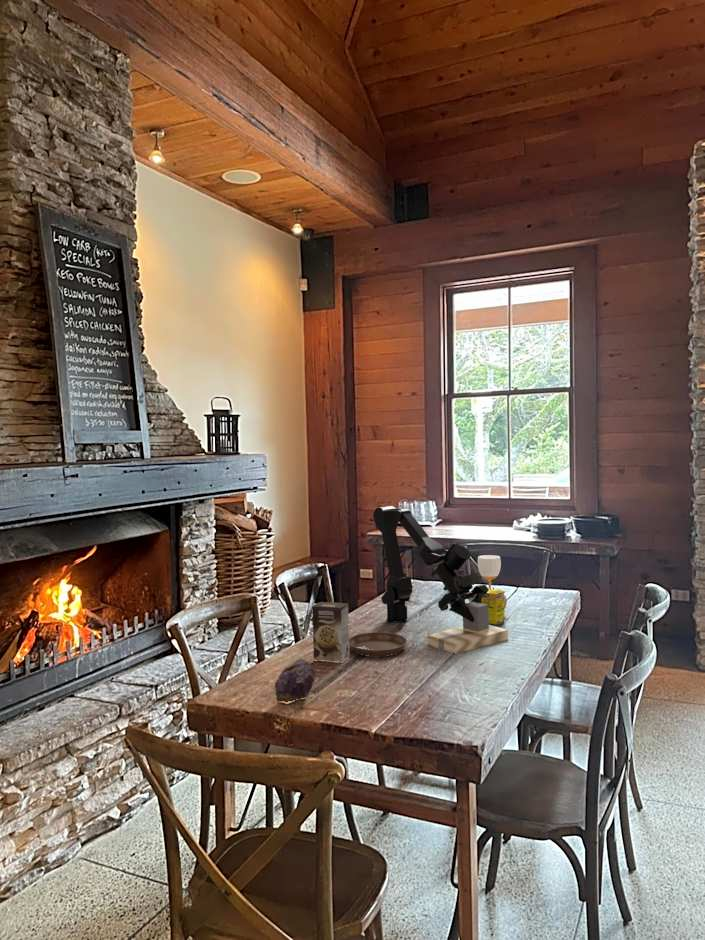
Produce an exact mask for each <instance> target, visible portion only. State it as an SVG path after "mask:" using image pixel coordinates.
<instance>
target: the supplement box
mask: <svg viewBox="0 0 705 940" xmlns="http://www.w3.org/2000/svg"><path fill="white" fill-rule="evenodd" d="M488 589H489V588H488ZM501 590H502V589H499V590H496V589H494V590H493V588H491V589H489V591H488V592H487V593H486V594H485V595H484V596H483V597H482V603H483V604H488V617H489V625H492V626H495V627H499V626H500V625H502V624H505V609H504V595H505V593H504V592H505V591H504V590H502V591H501Z"/></svg>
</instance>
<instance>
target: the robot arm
mask: <svg viewBox="0 0 705 940" xmlns="http://www.w3.org/2000/svg"><path fill="white" fill-rule="evenodd" d="M372 516H373V520H374V524H375V527H376V528H377V529H378V531H379V532H380V533H381V537H382V542H383V549H384V553H385V557H386V558H385V560H386V563H387V564H386V565H387V569H388V578H387V582H386V591H385V592H384V594H382V596H381V599H380V600H381V602H382V604H383V605H386V617H387V618H386V622H387V623H406V622H407V619H408V606H407V605H406V602H410V599H411V596H412V594H413V588H414V586H413V583H412V577H411V576H410V575H408V576H407V573H405V572H404V568H403V562H402V558H401V557H402V556H401V551H400V547H399V546H400V545H399V541H398V535H397V529H398V525H399V524H400V525H401V526H402V528H403V529H404V530H405V532H406V533H407V534H408V536H409V537H410V539H411V540H412V541H413V542H414V543H415V545H416V546H417V548H418V554H419V556H420V558H421V560H422V562H423V563H424V565H425V566H434V565H437V566H435V567H432V568H431V573H430V577H431V578H434V577H438V578H439V580H440V582H441V583H442V584H443V588H442V589H443V591H445V592H446V591H447V593H445V594H444V595H443V596H442V597H441V598H440V599H439V601H437V602H438V608H439V610H440V611H441V612H444V611H447V610H448V611H449V612H453V613H454V614H457V615H459V616H461V617H462V618H463V617H464V618H466V619H468V620H469V621H471V622H474V620H475V619H474V617H473V616H472V614H471V612H470V611H469V609H468V608H467V606H466V600H467V601H468V603H470V602H478V603H482V597H483V596H484V595H485V594H486V593H487V592H488V591H489V587H488V586H487V585H486V584H480V583H481V581H482V576H481V574H480V572H479V570H474V571H472V572H470V573H469V574H467V575H463V574H461V575H460V574H459V573H458V572H457V571H460V570H461V569H462V568H463V567H464V565H465V564H466V563H467V562H468V561H469V559H470V558H471V553H470V551H469V550H468V549H467V548H466V547H465V546H463V545H460V544H459V543H458V542H455V543H454V542H453V543H452V544H451V545H450V547H449V549H446V548H445V547H444V546H443V545H441V544H440V542H438V541H436V540H435V539H434V538H433V539H432V537H430V535H429V534H428V533H427V532H426V531H425V530H424V528H423V526H421V524H420V523H419V522H418V521H417V520H416V518H415V517H414V515H413V514H412V511H411V509H409V508H397V507H394V506H393V505H386V506H379V507H376V508H375V509H374V512H373V513H372ZM476 584H478V585H476ZM474 585H476V586H474ZM470 590H471V591H470ZM449 606H450V608H449Z"/></svg>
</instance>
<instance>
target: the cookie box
mask: <svg viewBox="0 0 705 940" xmlns="http://www.w3.org/2000/svg"><path fill="white" fill-rule="evenodd" d="M311 608H312V610H311V611H312V640H313V641H312V644H313V660H314V659H315V660H329V661H339V662H343V661H344V660H345V659H346V658H348V657H349V656H350V645H349V639H350V633H349V631H350V630H349V626H350V625H349V603H345V602H330V601H329V602H328V601H326V602H325V601H319V602H318V603H315V604H313V605H311Z"/></svg>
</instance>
